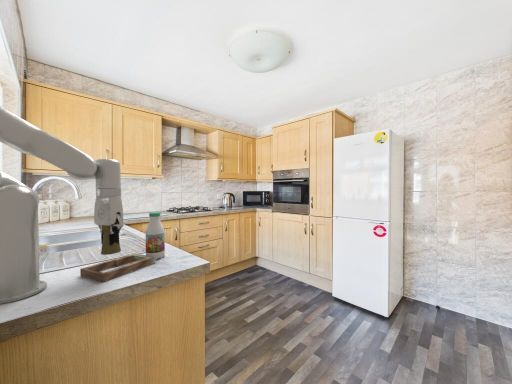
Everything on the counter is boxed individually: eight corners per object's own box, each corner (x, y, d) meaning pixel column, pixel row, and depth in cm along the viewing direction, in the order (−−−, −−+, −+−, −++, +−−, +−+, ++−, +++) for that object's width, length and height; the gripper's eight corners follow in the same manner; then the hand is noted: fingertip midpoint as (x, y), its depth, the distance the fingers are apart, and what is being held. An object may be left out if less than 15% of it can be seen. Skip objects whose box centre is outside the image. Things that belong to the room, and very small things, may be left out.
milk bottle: (143, 257, 96) (143, 212, 96) (161, 253, 101) (160, 211, 101) (148, 261, 90) (148, 213, 90) (167, 257, 95) (166, 212, 95)
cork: (124, 251, 79) (123, 221, 78) (105, 255, 74) (104, 224, 73) (116, 248, 82) (115, 220, 82) (98, 253, 77) (96, 222, 77)
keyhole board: (103, 282, 69) (103, 274, 69) (80, 275, 75) (80, 268, 75) (155, 262, 88) (155, 256, 87) (133, 259, 93) (133, 253, 93)
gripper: (83, 194, 77) (85, 244, 78) (112, 193, 70) (114, 248, 71) (105, 193, 84) (107, 239, 84) (133, 193, 77) (135, 243, 78)
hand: (110, 243), depth 78 cm, fingers closed on cork, 3 cm apart
